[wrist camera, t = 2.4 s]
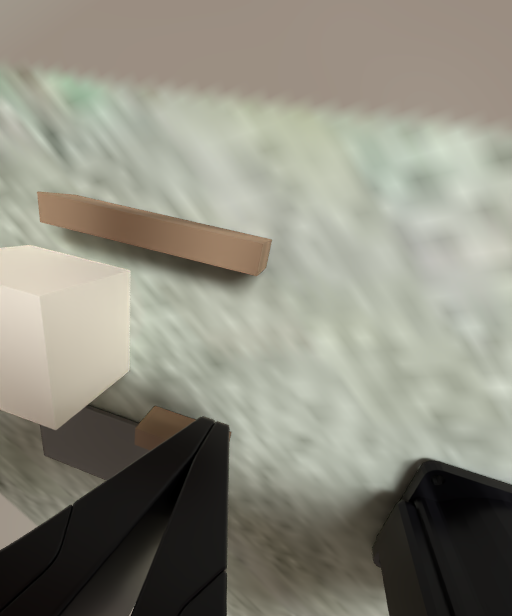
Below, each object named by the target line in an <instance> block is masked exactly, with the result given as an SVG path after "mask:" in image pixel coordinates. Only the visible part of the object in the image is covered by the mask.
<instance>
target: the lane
mask: <svg viewBox="0 0 512 616" xmlns="http://www.w3.org/2000/svg"><path fill="white" fill-rule="evenodd" d="M37 194H38V204H39V214H40V222H42V223H46V224H50V225H54V226H58V227H62V228H66V229H70V230H74V231H78V232H82V233H86V234H90V235H94V236H98V237H102V238H106V239H110V240H114V241H118V242H122V243H126V244H130V245H134V246H138V247H142V248H146V249H150V250H154V251H158V252H162V253H166V254H170V255H174V256H178V257H182V258H186V259H190V260H194V261H198V262H202V263H206V264H210V265H214V266H218V267H222V268H226V269H230V270H234V271H238V272H242V273H246V274H250V275H254V276H257V275H259V274H260V273H261V272H262V271H263V270H264V269H265V268H266V265H267V261H268V256H269V251H270V246H271V242H272V240H271V239H267V238H262V237H258V236H254V235H249V234H245V233H240V232H236V231H232V230H227V229H223V228H218V227H214V226H210V225H205V224H201V223H196V222H192V221H188V220H183V219H179V218H174V217H170V216H166V215H161V214H157V213H152V212H148V211H144V210H139V209H135V208H130V207H126V206H122V205H117V204H113V203H108V202H104V201H100V200H95V199H91V198H86V197H82V196H78V195H71V194H59V193H48V192H37ZM194 421H195V419H192V418H189V417H186V416H183V415H180V414H177V413H174V412H171V411H169V410H166V409H163V408H160V407H157V406H154V407H153V408H152V410H151V411H150V412H149V413H148V414H147V415H146V416H145V418H144V419H143V420H142V421H141V422H140V423H139V424H138V426H137V427H136V428H135V445H137V446H140V447H142V448H145V449H148V450H150V451H151V450H152V449H154V448H155V447H157V446H158V445H160V444H161V443H163V442H164V441H166V440H167V439H169V438H170V437H172V436H173V435H174V434H176V433H177V432H179V431H180V430H182V429H183V428H185V427H186V426H188V425H189V424H191V423H192V422H194ZM230 436H231V432H230V431H229V441H230Z"/></svg>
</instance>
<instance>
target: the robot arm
mask: <svg viewBox="0 0 512 616" xmlns="http://www.w3.org/2000/svg"><path fill="white" fill-rule="evenodd" d="M229 430H230V429H229V425H227V424H224V423H221V422H218V421H217V422H215V421H214V420H213V419H210V418H207V417H204V416H202V417H200V418H198V419H197V420H195V421H194V422H192V423H191V424H189V425H188V426H186V427H185V428H183V429H182V430H180V431H179V432H177V433H176V434H174V435H173V436H172V437H170V438H169V439H167V440H166V441H164V442H163V443H161V444H160V445H158V446H157V447H155V448H154V449H152V450H151V451H149V452H148V453H146V454H145V455H144V456H142V457H141V458H139V459H138V460H136V461H135V462H133V463H132V464H130V465H129V466H127V467H126V468H124V469H123V470H121V471H120V472H118V473H117V474H115V475H114V476H113V477H111V478H110V479H108V480H107V481H105V482H104V483H102V484H101V485H99V486H98V487H96V488H95V489H93V490H92V491H90V492H89V493H87V494H86V495H84V496H83V497H82V498H80V499H79V500H77V501H76V502H75V503H74V504H73V506H72V505H69V506H68V507H66V508H65V509H64V510H62V511H61V512H59V513H58V514H56V515H55V516H53V517H52V518H50V519H49V520H47V521H46V522H44V523H43V524H41V525H40V526H38V527H36V528H35V529H34V530H32V531H31V532H29V533H27V534H26V535H24V536H23V537H21V538H20V539H18V540H16V541H15V542H13V543H11V544H10V545H8V546H6V547H5V548H3V549H1V550H0V616H129V614H130V613H131V611H132V609H133V607H134V609H133V611H132V614H131V616H227V603H226V599H227V573H226V569H227V537H228V483H229ZM434 475H436V476H434ZM376 540H377V541H376V542H375V544H374V546H373V547H372V555H373V561H374V563H375V564H376V565H377V566H378V567H380V568H381V570H382V576H383V581H384V587H385V593H386V599H387V605H388V611H389V616H512V485H510V484H507V483H503V482H500V481H497V480H494V479H491V478H488V477H485V476H482V475H479V474H476V473H472V472H469V471H466V470H463V469H460V468H457V467H454V466H451V465H448V464H445V463H441V462H438V461H428V462H426V463H423V464H422V465H421V466H420V468H419V470H418V472H417V473H416V475H415V477H414V478H413V480H412V482H411V483H410V485H409V487H408V488H407V490H406V492H405V493H404V495H403V497H402V498H401V500H400V501H399V502H398V503H397V504H396V505H395V507H394V509H393V511H392V512H391V514H390V516H389V517H388V519H387V521H386V522H385V524H384V526H383V528H382V529H381V531H380V533H379V534H378V536H377V539H376ZM135 603H136V604H135ZM134 605H135V606H134Z"/></svg>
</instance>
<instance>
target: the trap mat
mask: <svg viewBox="0 0 512 616" xmlns="http://www.w3.org/2000/svg"><path fill="white" fill-rule="evenodd" d="M138 424H139V423H136V422H133V421H131V420H128V419H125V418H122V417H119V416H117V415H114V414H111V413H108V412H106V411H103V410H100V409H97V408H94V407H92V406H89V405H87V406H85V407H84V408H83V409H82V410H81V411H79V412H78V413H77V414H76V415H74V416H73V417H72V418H71V419H69V420H68V421H67V422H66V423H64V424H63V425H62V426H61V427H60V428H58V429H57V430H54V429H51V428H48V427H46V426H43V425H40V428H41V435H42V442H43V450H44V455H45V456H47V457H50V458H52V459H55V460H57V461H60V462H62V463H65V464H67V465H70V466H72V467H75V468H77V469H80V470H82V471H85V472H87V473H90V474H92V475H95V476H97V477H100V478H102V479H105V480H108V479H110V478H111V477H113V476H114V475H115V474H117V473H118V472H120V471H121V470H123V469H124V468H126V467H127V466H129V465H130V464H132V463H133V462H135V461H136V460H138V459H139V458H141V457H142V456H144V455H145V454H146V453H148V452H149V451H150V450H148V449H145V448H142V447H140V446H137V445H135V428H136V427H137V426H138Z"/></svg>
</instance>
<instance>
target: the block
mask: <svg viewBox="0 0 512 616" xmlns="http://www.w3.org/2000/svg"><path fill="white" fill-rule="evenodd" d="M129 371H130V270H127V269H123V268H119V267H115V266H111V265H107V264H104V263H100V262H96V261H92V260H88V259H84V258H80V257H76V256H72V255H68V254H64V253H60V252H56V251H52V250H48V249H44V248H40V247H36V246H32V245H25V246H14V247H4V248H0V410H2V411H5V412H8V413H10V414H13V415H16V416H18V417H21V418H24V419H27V420H29V421H32V422H35V423H37V424H40V425H43V426H46V427H48V428H51V429H54V430H57V429H58V428H60V427H61V426H62V425H63V424H64V423H66V422H67V421H68V420H69V419H71V418H72V417H73V416H74V415H76V414H77V413H78V412H79V411H81V410H82V409H83V408H84V407H85V406H87V405H88V404H89V403H90V402H92V401H93V400H94V399H95V398H97V397H98V396H99V395H100V394H102V393H103V392H104V391H105V390H106V389H108V388H109V387H110V386H111V385H113V384H114V383H115V382H116V381H118V380H119V379H120V378H121V377H123V376H124V375H125V374H126V373H127V372H129Z"/></svg>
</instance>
